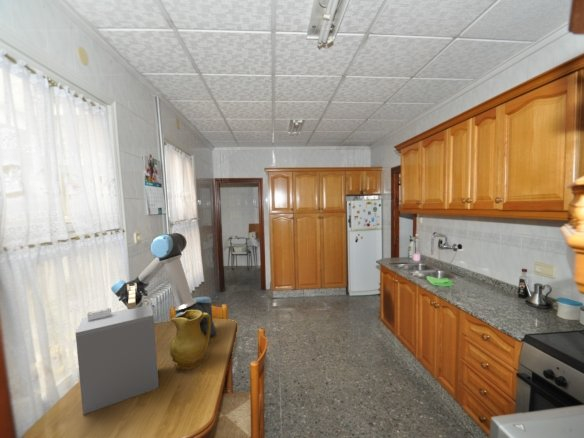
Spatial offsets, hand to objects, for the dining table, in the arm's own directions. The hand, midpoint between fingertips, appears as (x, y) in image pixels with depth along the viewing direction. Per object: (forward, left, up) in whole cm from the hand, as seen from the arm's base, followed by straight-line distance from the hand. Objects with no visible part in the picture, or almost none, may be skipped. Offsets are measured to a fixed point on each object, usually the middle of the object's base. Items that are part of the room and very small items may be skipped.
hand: (131, 286), depth 125 cm
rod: (-6, +5, -4) cm, 8 cm away
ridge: (+2, +14, -9) cm, 17 cm away
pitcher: (-21, -12, -42) cm, 48 cm away
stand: (-5, +12, -41) cm, 43 cm away
